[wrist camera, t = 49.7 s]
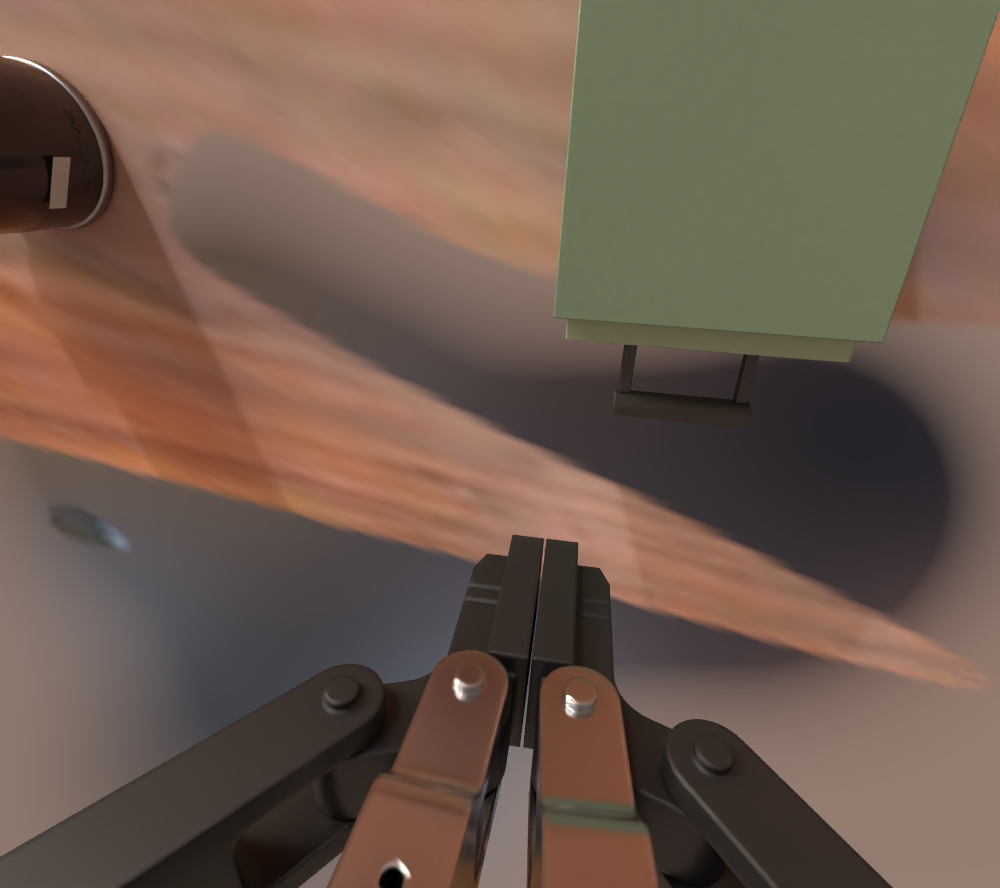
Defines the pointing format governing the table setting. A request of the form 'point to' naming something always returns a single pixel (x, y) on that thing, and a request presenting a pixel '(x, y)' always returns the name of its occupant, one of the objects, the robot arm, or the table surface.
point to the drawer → (701, 340)
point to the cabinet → (758, 158)
